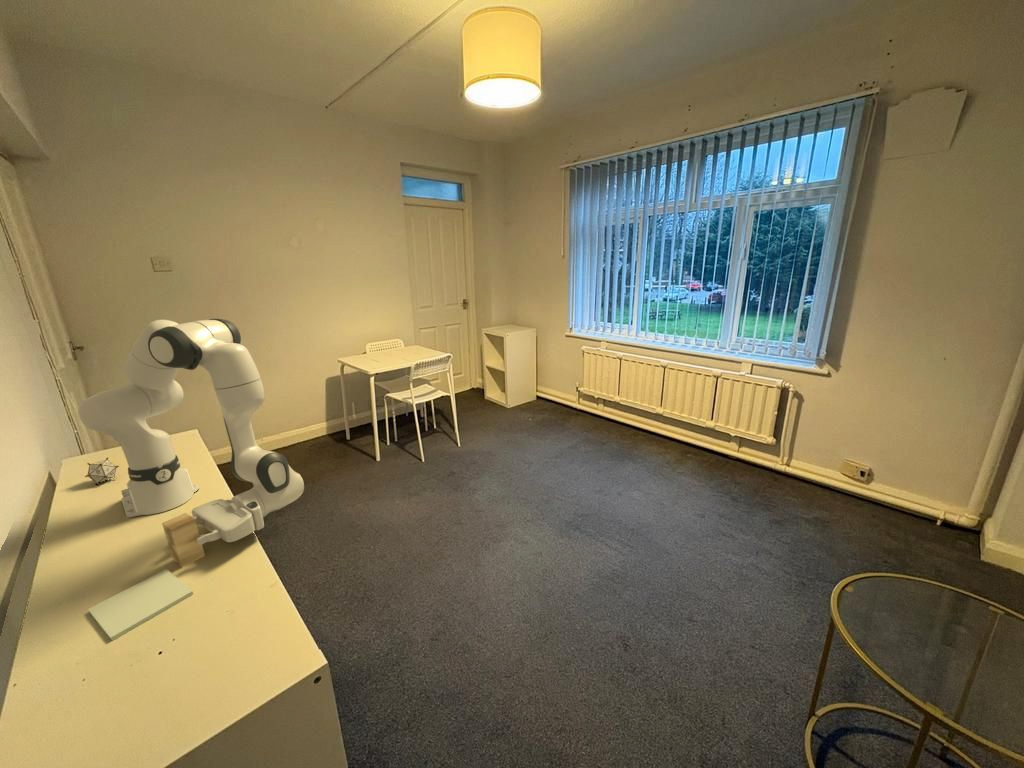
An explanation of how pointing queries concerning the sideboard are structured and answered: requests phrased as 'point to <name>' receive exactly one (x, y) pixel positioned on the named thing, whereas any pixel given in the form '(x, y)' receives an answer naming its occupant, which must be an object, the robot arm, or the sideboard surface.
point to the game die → (101, 471)
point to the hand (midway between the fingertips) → (187, 536)
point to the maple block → (183, 539)
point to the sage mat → (139, 603)
